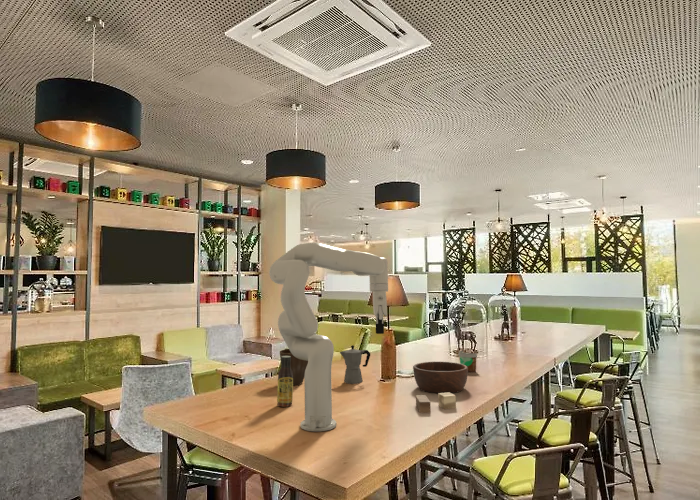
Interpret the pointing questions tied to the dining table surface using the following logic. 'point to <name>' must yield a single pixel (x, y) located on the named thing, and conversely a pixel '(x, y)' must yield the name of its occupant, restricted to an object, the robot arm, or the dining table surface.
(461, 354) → the food container
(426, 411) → the walnut block
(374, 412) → the dining table surface
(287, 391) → the sauce bottle
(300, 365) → the brown wooden cup
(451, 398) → the maple cube
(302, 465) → the dining table surface
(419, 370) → the wooden bowl
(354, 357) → the coffeepot
